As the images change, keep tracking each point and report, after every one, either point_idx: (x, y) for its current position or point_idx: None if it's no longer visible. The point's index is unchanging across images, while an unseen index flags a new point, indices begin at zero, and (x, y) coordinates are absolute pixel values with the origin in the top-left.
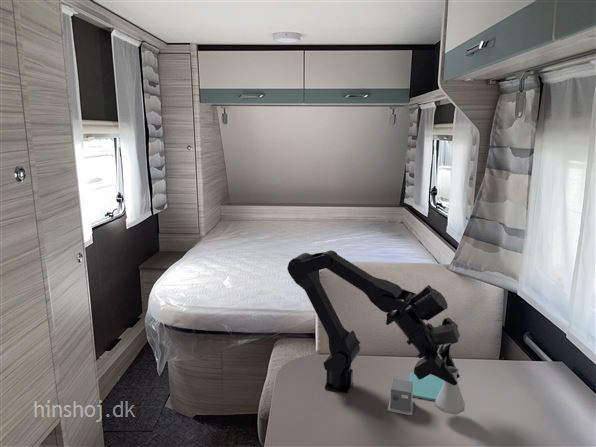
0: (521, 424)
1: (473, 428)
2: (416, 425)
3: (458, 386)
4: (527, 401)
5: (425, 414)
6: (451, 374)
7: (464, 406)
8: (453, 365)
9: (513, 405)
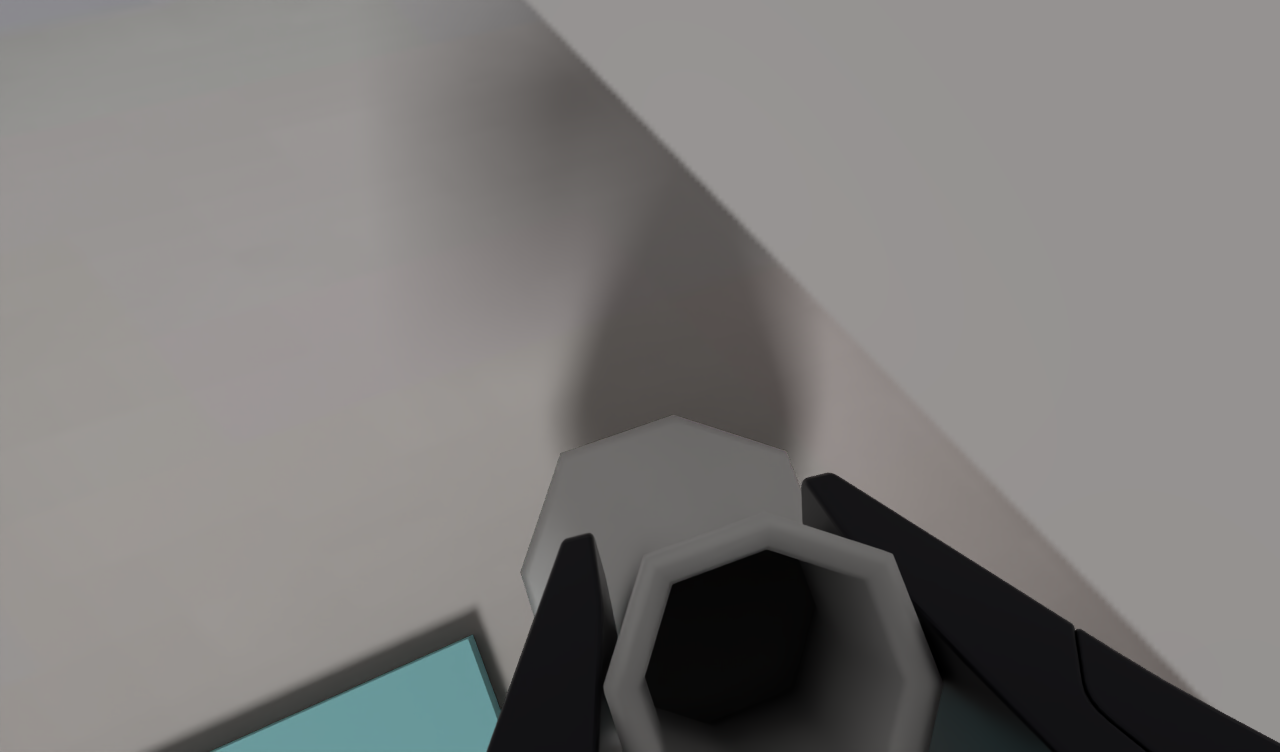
0: (373, 94)
1: (664, 345)
2: None
3: (636, 512)
4: (20, 134)
5: None
6: (973, 598)
7: (607, 438)
8: (589, 733)
9: (149, 202)
